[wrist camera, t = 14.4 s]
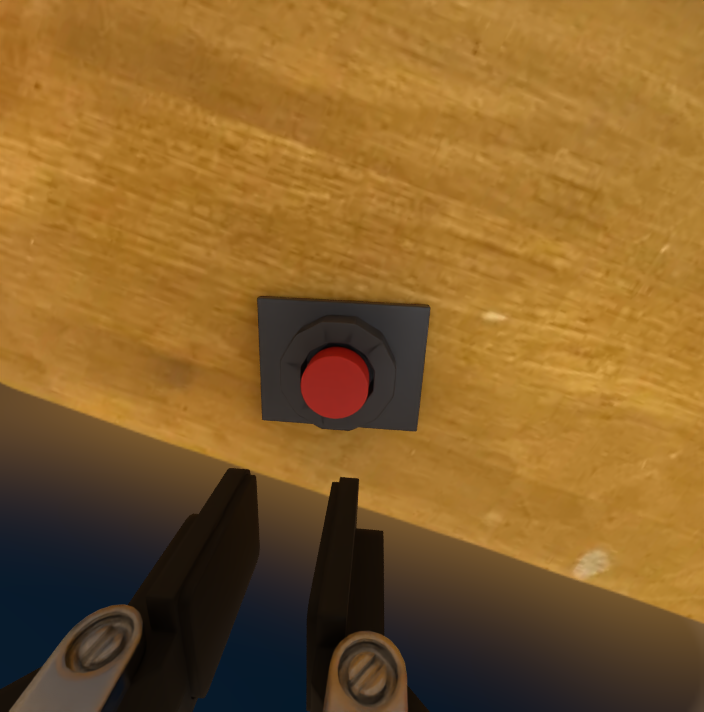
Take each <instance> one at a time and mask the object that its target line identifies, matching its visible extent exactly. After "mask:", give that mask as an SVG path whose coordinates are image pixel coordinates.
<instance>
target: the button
mask: <svg viewBox="0 0 704 712" xmlns="http://www.w3.org/2000/svg"><path fill="white" fill-rule="evenodd" d="M368 388H369V371H368V367H367V365H366V363H365V362H364V360H363V359H362V358H361V357H360V356H359V355H358V354H357V353H356V352H354V351H352V350H350V349H348V348H344V347H329V348H325V349H323V350H321V351H319V352H318V353H317V354H315V355H314V356H313V358H312V359H311V360H310V362H309V364H308V366H307V367H306V369H305V371H304V373H303V375H302V378H301V393H302V396H303V398H304V400H305V402H306V404H307V405H308V406H309V407H310V408H311V409H312V410H313V411H314V412H316V413H317V414H319V415H321V416H324V417H327V418H333V419H338V418H345V417H348V416H350V415H352V414H354V413H356V412H357V411H358V410H359V409H360V408H361V407H362V406H363V404H364V403H365V401H366V399H367V395H368Z"/></svg>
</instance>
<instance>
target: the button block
mask: <svg viewBox="0 0 704 712" xmlns="http://www.w3.org/2000/svg"><path fill="white" fill-rule="evenodd" d="M257 304H258V328H259V353H260V377H261V401H262V420H268V421H282V422H295V423H309V424H314V425H316V426H318V427H319V428H321V429H333V430H346V431H350V430H353V429H355V428H357V427H362V428H376V429H389V430H403V431H417V425H418V416H419V407H420V398H421V389H422V380H423V370H424V361H425V352H426V343H427V334H428V325H429V316H430V306H429V305H418V304H400V303H381V302H363V301H345V300H326V299H308V298H289V297H271V296H260V297H258V298H257ZM329 347H344V348H348V349H350V350H352V351H354V352H356V353H357V354H358V355H359V356H360V357H361V358H362V359H363V360H364V362H365V363H366V365H367V367H368V371H369V388H368V395H367V399H366V401H365V403H364V404H363V406H362V407H361V408H360V409H359V410H358V411H357V412H356V413H354V414H352V415H350V416H348V417H345V418H338V419H333V418H327V417H324V416H321V415H319V414H317V413H316V412H314V411H313V410H312V409H311V408H310V407H309V406H308V405H307V404H306V402H305V400H304V398H303V396H302V393H301V378H302V375H303V373H304V371H305V369H306V367H307V366H308V364H309V362H310V360H311V359H312V358H313V356H314V355H315V354H317V353H318V352H319V351H321V350H323V349H325V348H329Z"/></svg>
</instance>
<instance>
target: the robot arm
mask: <svg viewBox="0 0 704 712" xmlns="http://www.w3.org/2000/svg"><path fill="white" fill-rule="evenodd" d="M358 489H359V479H357V478H345V477H340V481H339V482H332V486H331V491H330V496H329V501H328V506H327V511H326V516H325V522H324V527H323V532H322V537H321V542H320V547H319V552H318V557H317V562H316V567H315V572H314V577H313V583H312V588H311V593H310V599H309V604H308V613H307V711H311V712H429V711H428V709H427V708H426V707H425V706H424V705H423V703H422V702H421V701H420V700H419V699H418V698H417V696H416V695H415V694H414V693H413V691H412V690H411V689H410V688H409V687H408V686H407V675H406V670H405V664H404V660H403V658H402V656H401V654H400V652H399V650H398V649H397V648H396V646H395V645H394V644H393V643H392V642H391V641H390V640H389V639H387V638H386V637H384V559H383V558H384V553H383V552H384V551H383V549H384V548H383V531H379V530H367V529H357V528H356V524H357V507H358ZM259 549H260V543H259V523H258V504H257V484H256V476H255V475H251V474H250V470H248V469H236V468H229V469H228V470H227V472H226V473H225V474H224V476H223V478H222V479H221V481H220V482H219V484H218V485H217V487H216V488H215V490H214V491H213V493H212V494H211V496H210V498H209V499H208V501H207V502H206V504H205V505H204V507H203V508H202V510H201V511H200V513H199V514H192V515H190V516H189V517H188V518H187V519H186V520H185V522H184V523H183V525H182V526H181V528H180V529H179V531H178V532H177V534H176V535H175V537H174V538H173V540H172V541H171V542H170V544H169V546H168V547H167V548H166V550H165V551H164V553H163V554H162V556H161V557H160V559H159V560H158V561H157V563H156V564H155V566H154V567H153V569H152V570H151V572H150V573H149V575H148V576H147V578H146V579H145V580H144V582H143V583H142V585H141V586H140V588H139V590H138V591H137V592H136V594H135V595H134V597H133V598H132V600H131V601H130V602H129V604H128V605H113V606H110V607H107V608H104V609H101V610H98V611H96V612H95V613H93V614H91V615H89V616H87V617H86V618H85V619H83V620H82V621H81V622H80V623H78V624H77V625H76V626H75V627H74V628H73V629H72V630H71V631H70V632H69V633H68V634H67V636H65V638H64V639H63V640H62V642H61V643H60V644H59V645H58V647H57V648H56V649H55V651H54V652H53V654H52V655H51V656H50V657H49V659H48V660H47V661H46V663H45V664H44V665H43V666H42V667H40V668H38V669H37V670H35V671H33V672H31V673H29V674H27V675H26V676H24V677H22V678H20V679H18V680H17V681H15V682H13V683H12V684H9V685H7V686H6V687H4V688H2V689H0V712H192V711H193V709H194V706H195V704H196V701H197V699H198V698H204V697H205V696H206V694H207V692H208V690H209V687H210V685H211V682H212V680H213V677H214V674H215V671H216V669H217V666H218V664H219V661H220V658H221V656H222V653H223V650H224V648H225V645H226V643H227V640H228V637H229V634H230V632H231V629H232V627H233V624H234V621H235V619H236V616H237V613H238V611H239V608H240V606H241V603H242V600H243V598H244V595H245V592H246V590H247V587H248V584H249V582H250V579H251V576H252V574H253V571H254V569H255V565H256V563H257V560H258V557H259Z"/></svg>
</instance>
